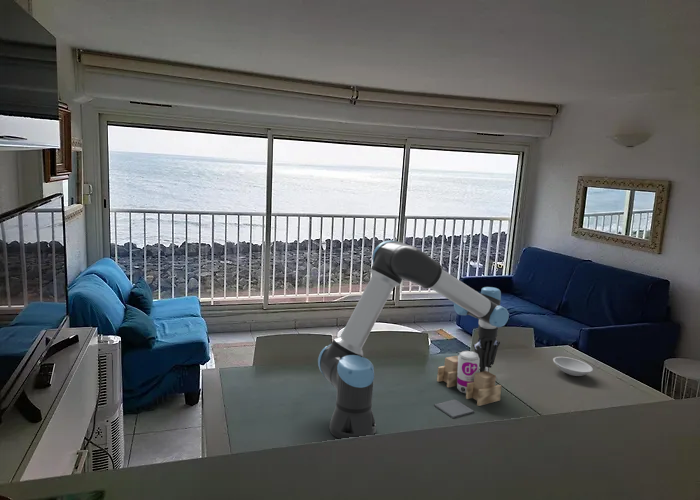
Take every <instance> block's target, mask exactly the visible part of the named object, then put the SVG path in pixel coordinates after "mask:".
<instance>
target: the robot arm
mask: <svg viewBox="0 0 700 500" xmlns="http://www.w3.org/2000/svg"><path fill="white" fill-rule="evenodd" d="M372 263H373V264H372V266H371V268H370V273H371V277H370V279H369V281H368V283H367V284H366V286H365V288H364V290H363V293H362V294H361V296H360V299H359V300H358V302H357V303H356V306H355V307H354V309H353V312H352V313H351V315H350V317H349V319H348V321H347V323H346V324H345V327H344V329H343V331H342V332H341V334H340V335H339V336H338V337H335V338H334V339H333V340H332V341H331V344H328V345H326V346H325V347H323V348H322V349H321V351H320V352H319V355H318V358H317V365H318V369H319V371H320V373H321V375H322V376H323V377H324V378H325V379H326V380H327V382H329V383H330V384H331V385H332V386H333V387H334V388H335V390H336V397H335V398H336V399H335V407H334V410H333V413H332V415H331V418H330V419H329V420H330V421H329V432H330V433H331V435H332V436H333V437H334V438H337V439H339V440H341V439H340V438H349V437H359V436H366V435H373V434H374V433H375V434H376V430H377V428H376V427H377V425H376V420H375V417H374V412H373V394H374V393H373V391H374V380H375V371H374V370H375V367H374V364H373V363H372V362H371V361H370V359H368V358H366V357H365V356H364V351H363V347H364V345H365V343H366V341H367V339H368V338H369V335H370V333H371V331H372V330H373V327H374V326H375V324H376V322H377V320H378V318H379V317H380V314H381V312H382V310H383V308H384V306H385V305H386V303H387V301H388V299H389V298H390V295H391V293H392V291H393V290H394V288H396V287H399V286H401V283H402V282H403V280H404V281H408V282H410V283H414V284H416V285H418V286H420V287H422V288H424V289H426V290H427V289H429V290H430V289H431V290H433V291H434V292H436V293H438V294H439V295H441V296H443V298H446V299H448V300H449V301H451V302H452V303H453V308H454V312H455V313H456V314H457V315H459V316H470V317H472V318H475V319H477V320H478V327H477V335H478V339H477V342H476V343H473V344H472V348H473V349H474V352H476V353H477V354H478V356H479V358H480V363H479V372H483V371H488V372H490V368H491V369H492V368H493V367H492V366H493V365H494V364H495V360H496V356H497V354H498V353H497V352H498V348H499V346H500V345H501V341H499V340H497V336H498V333H499V332H498V331H499V328H503V326H505V325H506V324H507V323H508V320H509V317H510V316H509V315H510V313H509V310H508V309H507V308H505V307H504V306H502V305H501V303H502V302H501V301H502V298H501V297H502V291H501V290H500V289H499V288H497V287H493V286H484V287H482V288H481V291H480V293H479V292H478V291H477V290H475V289H474V288H472V287H470V286H469V285H467V284H466V283H464V282H463V281H462V280H459V279H458V278H457V277H455V276H453V275H452V274H450V273H448V271H446V270H444V269H443V266H442V264H440V263H439V262H437V261H436V260H434V259H433V258H432V257H430V256H429V255H428V254H427V253H425V252H424V251H422V250H421V249H419V248H418V247H417V246H416V247H415V246H414V245H410V244H407V243H404V242H402V241H398V240H384V241H382V242H381V243H379V244H378V245H377V246H376V247H375V248H374V250H373V254H372ZM375 434H374V435H375Z"/></svg>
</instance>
